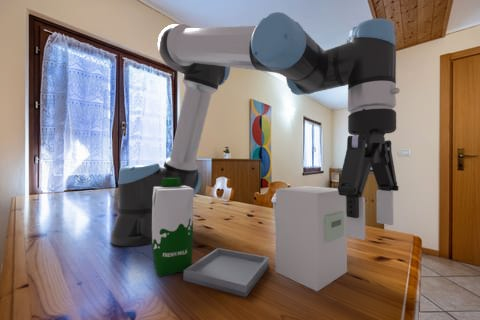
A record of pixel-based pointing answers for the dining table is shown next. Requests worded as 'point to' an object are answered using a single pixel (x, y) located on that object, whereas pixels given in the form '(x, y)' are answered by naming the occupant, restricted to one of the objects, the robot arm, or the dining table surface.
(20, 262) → the dining table surface
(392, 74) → the robot arm
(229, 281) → the tray
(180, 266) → the milk carton
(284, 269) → the box
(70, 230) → the dining table surface
